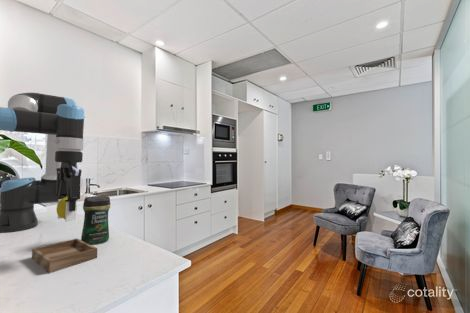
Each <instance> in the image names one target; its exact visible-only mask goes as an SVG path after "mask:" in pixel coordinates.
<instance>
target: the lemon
mask: <svg viewBox="0 0 470 313" xmlns="http://www.w3.org/2000/svg"><path fill="white" fill-rule="evenodd" d="M65 200H68V199H67V196H66V197H65V198H63V199H61V200H60V201H59V202H58V203H57V205H56V214H57V217H58V216H59V217H61V218H60V219H64V220H65V214H66V202H65ZM77 209H78V204H77V203H76V211H77Z"/></svg>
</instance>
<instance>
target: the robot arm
mask: <svg viewBox="0 0 470 313" xmlns="http://www.w3.org/2000/svg"><path fill="white" fill-rule="evenodd" d="M85 117H86V116H85V110H84V108H83V107H82V106H79V105H77V104H76V102H75V100H74V99H72V98H69V97H65V96H57V95H52V94H44V93H39V92H22V93H17V94H14V95H12V96H11V97H10V98H9V99H8V101H7V107H0V131H6V132H12V133H13V132H14V133H15V132H16V133H28V134H29V133H31V134H40V135H42V134H43V135H47V138H46V139H47V140H46V153H45V169H44V170H45V171H44V172H45V173H44V174H43V175H41V177H40V179H38V180H36V178H35V177H24V178H23V177H22V178H15V179H9V180H5V181H3V182H2V183H1V186H0V233H11V232H19V231H24V230H29V229H32V228H35V227H37V226H38V223H39V222H38V221H39V220H38V217H37V215H36V213H35V210H34V208H35V205H39V204H50V203H51V204H52V203H54V204H55V203H57V204H58V202H59V201H60V200H61V199H63V198H65V197H66V196H67V199H68V200H65V202H66V214H65V219H64V221H65V222H66V223H68V222H73V221H76V219H77V210H76V204H77V201H78V200H80V199H81V182H82V181H81V180H82V179H81V176H82V171H83V170H82V169H78V163H82V162H83V152H82V151H83V150H84V127H85ZM58 219H62V218H61V217H59V216H58V215H57V220H58Z"/></svg>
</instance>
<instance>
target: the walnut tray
mask: <svg viewBox="0 0 470 313" xmlns="http://www.w3.org/2000/svg"><path fill="white" fill-rule="evenodd" d="M96 259H98V247H95V246H94V245H93V244H92V245H89V244H87V243H85V242H83V241H81V239H79V238H73V239H68V240H65V241H64V240H63V241H60V242H56V243H52V244H49V245H44V246H40V247H35V248H32V250H31V260H33V261H34V262H35V263H37V265H38V266H41V268H42V269H44V270H45V271H46V272H48V273H49V274H51V273H54V272H57V271H62V270H63V269H66V268H69V267H73V266H76V265H79V264H81V263H82V264H83V263H85V262H88V261H91V260H96Z"/></svg>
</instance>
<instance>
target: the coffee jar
mask: <svg viewBox="0 0 470 313" xmlns="http://www.w3.org/2000/svg"><path fill="white" fill-rule="evenodd" d="M82 209H83V212H84V217H83V219H84V220H83V226H82V231H81V238H80V240H81V241H83V242H85V243H87V244H89V245H92V246H93V245H97V244H103V243H106V242H107V241H109V239H110V230H109V210H110V209H111V198H110V197H109V196H108V195H93V196H86V197H84V200H83V204H82Z"/></svg>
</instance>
